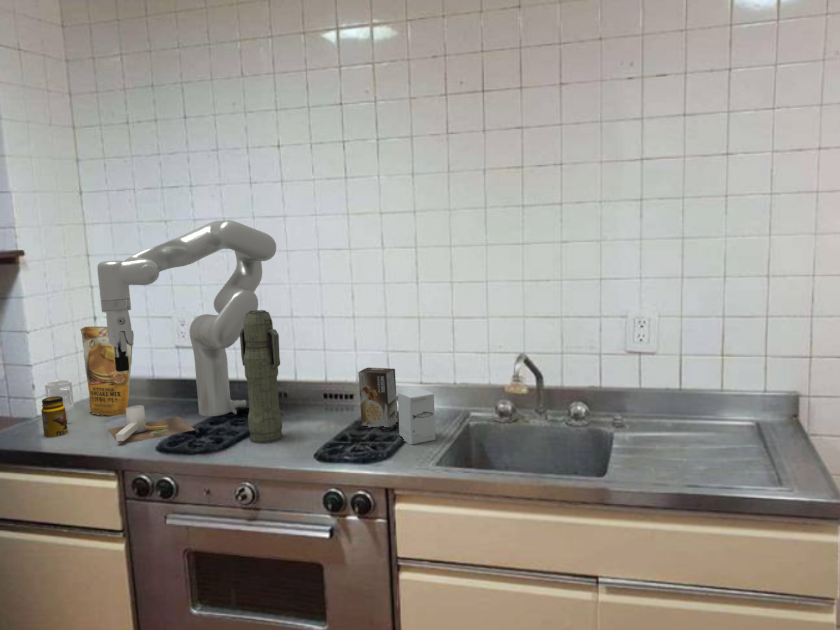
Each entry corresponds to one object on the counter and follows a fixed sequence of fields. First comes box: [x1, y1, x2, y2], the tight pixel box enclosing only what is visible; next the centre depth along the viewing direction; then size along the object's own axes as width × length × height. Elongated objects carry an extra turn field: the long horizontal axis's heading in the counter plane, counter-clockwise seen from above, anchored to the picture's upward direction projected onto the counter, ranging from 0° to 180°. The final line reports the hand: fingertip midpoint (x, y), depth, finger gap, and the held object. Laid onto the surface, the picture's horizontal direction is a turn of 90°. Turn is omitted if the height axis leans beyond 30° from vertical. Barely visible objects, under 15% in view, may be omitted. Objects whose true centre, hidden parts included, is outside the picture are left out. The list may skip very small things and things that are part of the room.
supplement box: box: [397, 388, 436, 446], centre depth 187 cm, size 7×7×13 cm
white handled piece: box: [115, 404, 166, 442], centre depth 196 cm, size 16×11×7 cm
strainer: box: [44, 378, 75, 425], centre depth 212 cm, size 7×7×15 cm
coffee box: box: [357, 367, 399, 428], centre depth 201 cm, size 9×6×16 cm
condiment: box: [40, 396, 69, 438], centre depth 201 cm, size 7×8×12 cm
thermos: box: [239, 309, 283, 444], centre depth 192 cm, size 9×12×35 cm
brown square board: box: [107, 416, 196, 445], centre depth 202 cm, size 20×18×2 cm
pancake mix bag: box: [80, 326, 135, 417], centre depth 226 cm, size 7×19×28 cm, turn 69°
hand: (122, 370), depth 199 cm, fingers closed
